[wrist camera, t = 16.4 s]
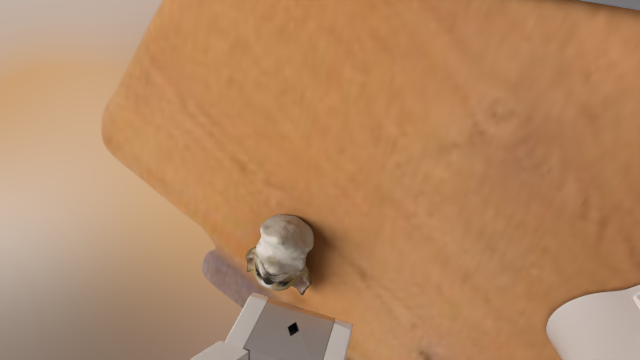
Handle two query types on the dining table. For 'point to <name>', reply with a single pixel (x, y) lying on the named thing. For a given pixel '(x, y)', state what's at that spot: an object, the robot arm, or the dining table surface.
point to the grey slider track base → (619, 3)
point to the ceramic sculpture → (282, 254)
